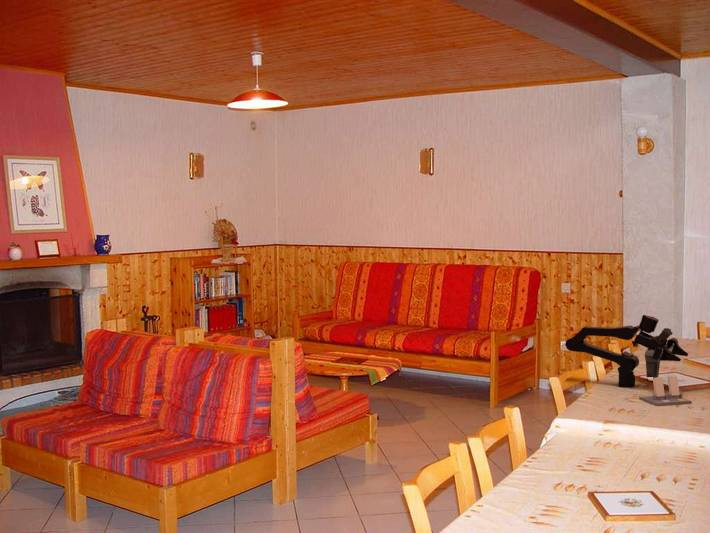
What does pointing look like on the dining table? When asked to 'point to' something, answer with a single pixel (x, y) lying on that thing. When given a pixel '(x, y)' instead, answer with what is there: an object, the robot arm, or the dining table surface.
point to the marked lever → (673, 386)
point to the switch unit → (665, 400)
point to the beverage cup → (651, 364)
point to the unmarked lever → (658, 387)
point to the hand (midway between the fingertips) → (684, 357)
